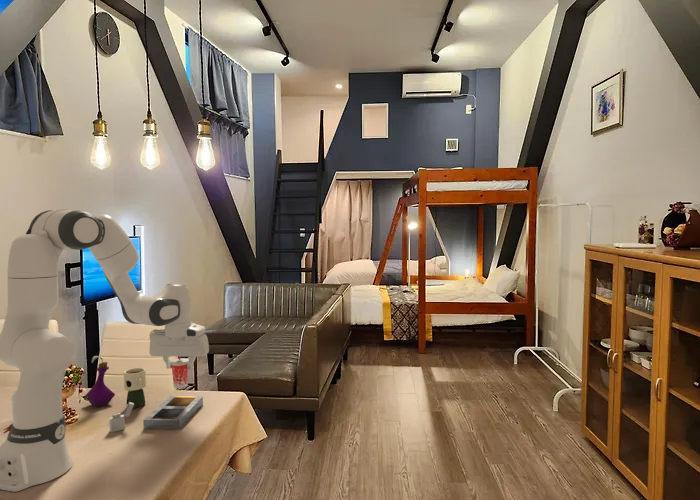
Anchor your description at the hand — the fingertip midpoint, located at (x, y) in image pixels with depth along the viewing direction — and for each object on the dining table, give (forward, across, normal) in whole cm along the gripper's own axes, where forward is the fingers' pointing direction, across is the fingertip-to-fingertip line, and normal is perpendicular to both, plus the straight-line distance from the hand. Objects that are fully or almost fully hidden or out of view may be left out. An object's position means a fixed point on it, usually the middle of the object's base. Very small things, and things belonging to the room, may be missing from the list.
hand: (179, 368), depth 164 cm
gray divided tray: (+15, 0, -5) cm, 16 cm away
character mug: (+15, -18, +3) cm, 24 cm away
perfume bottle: (+15, -32, +4) cm, 36 cm away
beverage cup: (+7, 0, 0) cm, 7 cm away
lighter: (+15, -13, -15) cm, 25 cm away
